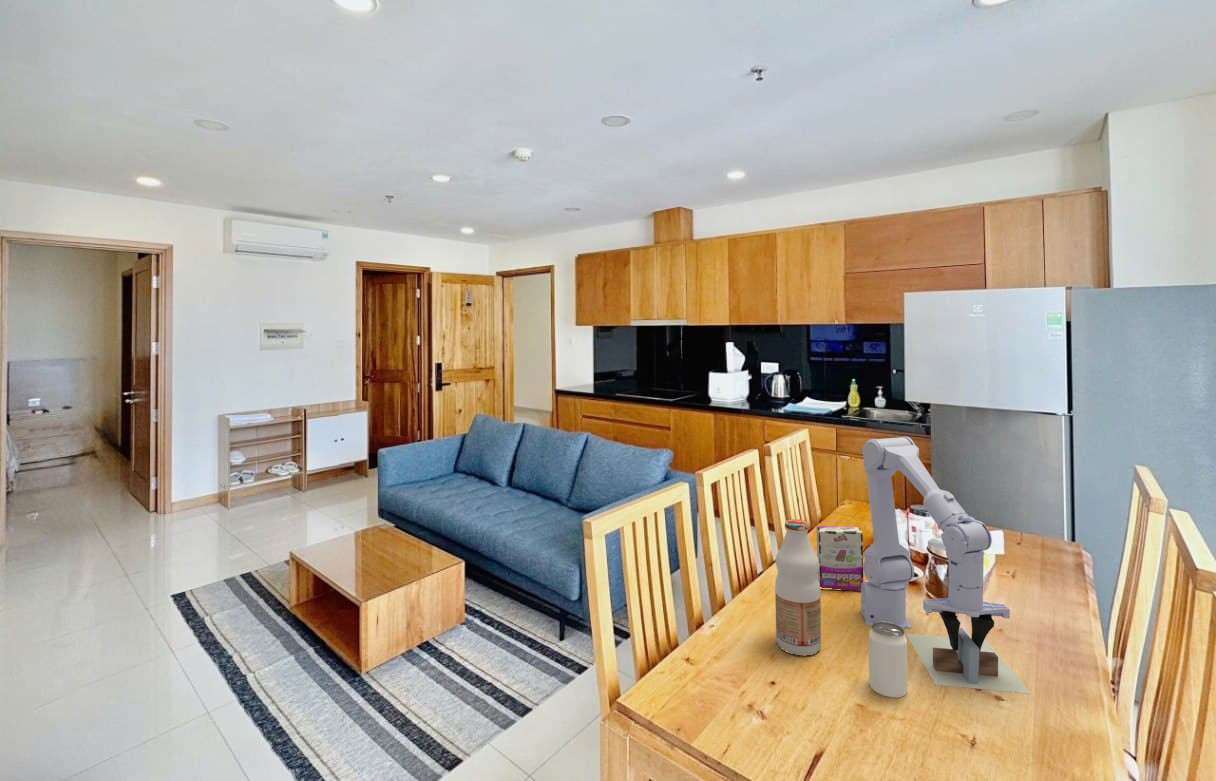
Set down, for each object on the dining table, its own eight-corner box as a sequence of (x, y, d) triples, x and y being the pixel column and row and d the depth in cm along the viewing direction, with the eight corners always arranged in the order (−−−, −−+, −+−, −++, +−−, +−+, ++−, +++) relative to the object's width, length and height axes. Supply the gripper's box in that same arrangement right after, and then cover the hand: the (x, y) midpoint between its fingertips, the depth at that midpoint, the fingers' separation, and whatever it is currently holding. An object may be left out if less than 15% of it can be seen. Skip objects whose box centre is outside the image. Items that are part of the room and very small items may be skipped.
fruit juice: (777, 655, 117) (775, 528, 115) (775, 632, 126) (773, 514, 124) (824, 659, 115) (822, 530, 113) (818, 636, 124) (816, 516, 122)
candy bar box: (859, 584, 149) (859, 526, 148) (864, 592, 144) (863, 532, 143) (816, 582, 152) (816, 524, 150) (819, 590, 147) (818, 530, 146)
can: (905, 703, 100) (906, 641, 99) (867, 693, 103) (867, 632, 102) (908, 684, 105) (908, 625, 104) (871, 675, 109) (871, 617, 108)
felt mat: (935, 685, 105) (935, 684, 105) (905, 634, 123) (905, 633, 123) (1031, 695, 101) (1031, 693, 101) (985, 641, 119) (985, 639, 119)
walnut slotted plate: (935, 671, 109) (935, 651, 108) (932, 666, 110) (932, 647, 110) (998, 676, 106) (998, 657, 106) (994, 671, 108) (994, 652, 107)
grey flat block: (968, 682, 104) (970, 648, 104) (951, 659, 112) (953, 627, 112) (977, 684, 104) (979, 649, 104) (960, 660, 112) (961, 627, 111)
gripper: (931, 589, 105) (931, 656, 106) (1018, 594, 101) (1016, 663, 102) (919, 574, 111) (919, 637, 113) (1000, 578, 108) (999, 643, 109)
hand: (964, 648), depth 108 cm, fingers open, 3 cm apart
